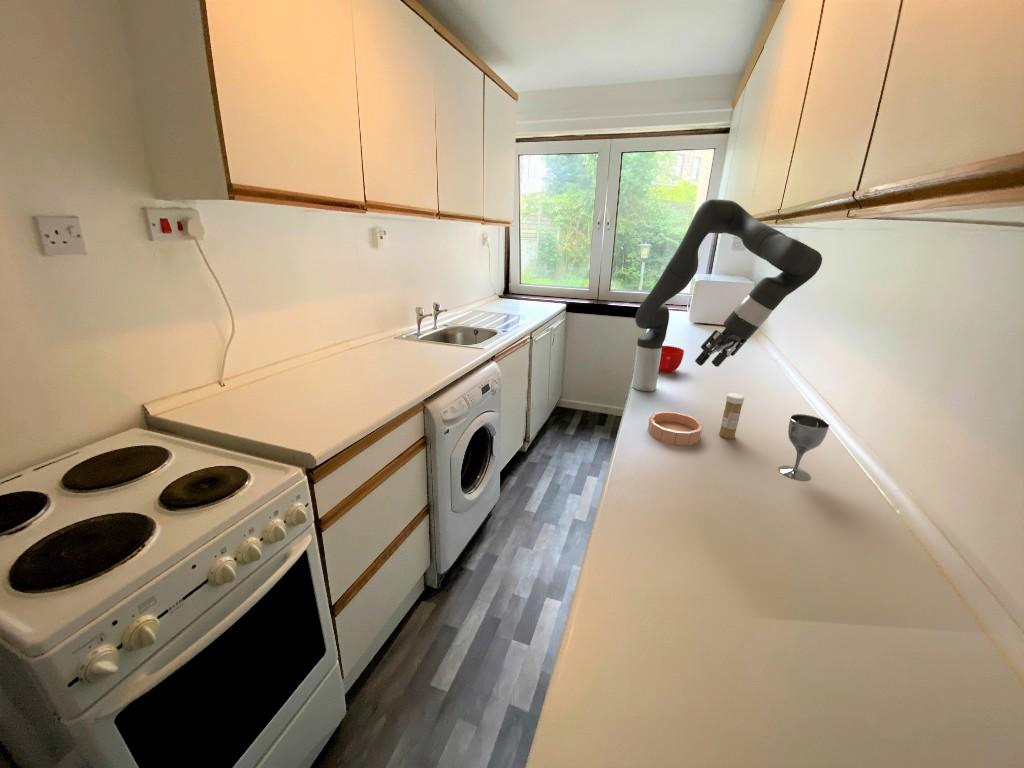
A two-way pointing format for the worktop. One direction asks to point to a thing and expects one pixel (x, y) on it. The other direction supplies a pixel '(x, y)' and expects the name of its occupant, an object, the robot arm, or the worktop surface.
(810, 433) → the wine glass
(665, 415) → the terracotta bowl
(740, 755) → the worktop surface
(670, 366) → the ceramic cup
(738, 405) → the sprinkles bottle
